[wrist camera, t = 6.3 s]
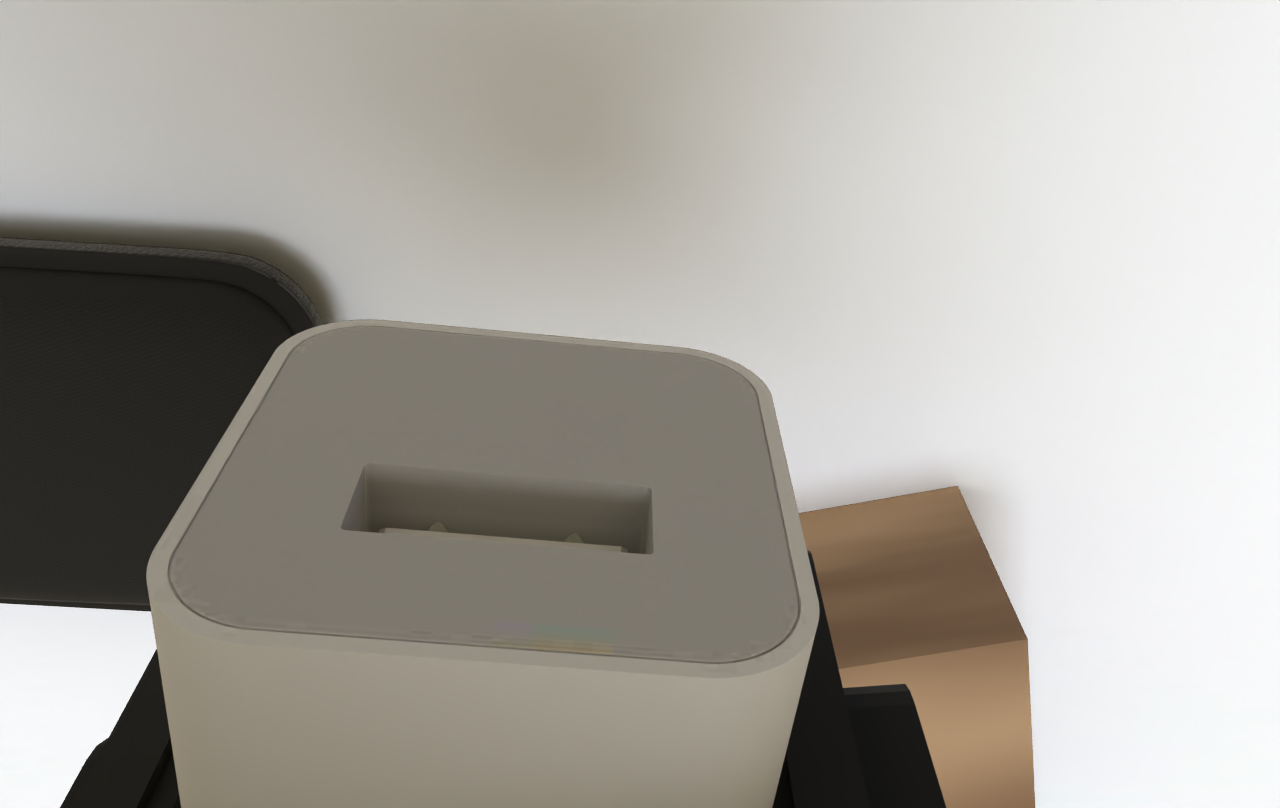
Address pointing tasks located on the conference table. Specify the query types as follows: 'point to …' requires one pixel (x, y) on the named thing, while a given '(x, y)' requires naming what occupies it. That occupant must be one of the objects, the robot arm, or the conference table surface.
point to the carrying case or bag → (119, 402)
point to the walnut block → (932, 635)
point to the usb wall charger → (486, 580)
